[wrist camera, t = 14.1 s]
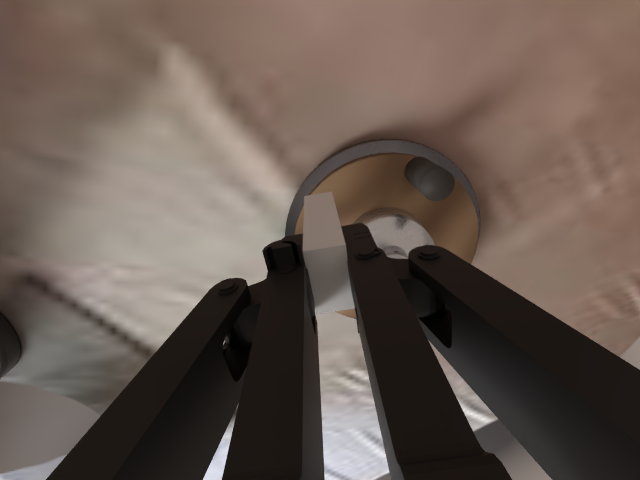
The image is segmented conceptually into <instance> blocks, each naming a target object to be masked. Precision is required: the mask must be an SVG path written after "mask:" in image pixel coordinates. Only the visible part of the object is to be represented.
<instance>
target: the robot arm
mask: <svg viewBox="0 0 640 480" xmlns="http://www.w3.org/2000/svg"><path fill="white" fill-rule="evenodd" d="M263 255H264V258H265V262H266V266H267V269H268V274H267V278H266V279H265V280H263V281H261V282H259V283H256V284H253V285H250V286H248V285H247V282H246V280H244V279H242V278H232V279H231V278H229V279H226V280H223V281H221V282H220V283H218V284H216V285H215V286H213V287H212V288H211V289H210V290H209V291H208V293H207V294H206V295H205V296H204V297H203V298H202V299H201V301H200V302H199V303H198V304H197V305H196V306H195V308H194V309H193V310H192V311H191V312H190V313H189V315H188V316H187V317H186V318H185V319H184V320H183V321H182V323H181V324H180V325H179V326H178V327H177V328H176V330H175V331H174V332H173V333H172V334H171V335H170V337H169V338H168V339H167V340H166V341H165V342H164V343H163V345H162V346H161V347H160V348H159V349H158V350H157V352H156V353H155V354H154V355H153V356H152V357H151V359H150V360H149V361H148V362H147V363H146V364H145V366H144V367H143V368H142V369H141V370H140V371H139V372H138V374H137V375H136V376H135V377H134V378H133V379H132V381H131V382H130V383H129V384H128V385H127V386H126V388H125V389H124V390H123V391H122V392H121V393H120V394H119V396H118V397H117V398H116V399H115V400H114V401H113V403H112V404H111V405H110V406H109V407H108V408H107V410H106V411H105V412H104V413H103V414H102V415H101V416H100V418H99V419H98V420H97V421H96V422H95V424H94V425H93V426H92V427H91V428H90V429H89V430H88V432H87V433H86V434H85V435H84V436H83V437H82V438H81V440H80V441H79V442H78V443H77V444H76V446H75V447H74V448H73V449H72V450H71V451H70V452H69V454H68V455H67V456H66V457H65V458H64V459H63V461H62V462H61V463H60V464H59V465H58V466H57V467H56V469H55V470H54V471H53V472H52V473H51V474H50V476H49V477H48V478H47V479H46V480H203V478H204V476H205V473H206V471H207V469H208V467H209V465H210V463H211V461H212V459H213V456H214V454H215V452H216V450H217V448H218V446H219V444H220V441H221V439H222V437H223V435H224V433H225V431H226V429H227V427H228V424H229V422H230V420H231V418H232V416H233V414H234V412H235V410H236V407H237V405H238V403H239V405H238V410H237V414H236V419H235V423H234V428H233V432H232V437H231V441H230V446H229V450H228V455H227V459H226V464H225V469H224V473H223V477H222V480H324V459H323V438H322V416H321V395H320V374H319V353H318V332H317V320H316V316H315V312H316V314H323V313H329V312H335V311H342V310H348V309H354V308H355V313H356V320H357V327H358V333H360V338H361V342H362V347H363V351H364V356H365V361H366V365H367V370H368V374H369V379H370V384H371V388H372V393H373V397H374V402H375V407H376V411H377V416H378V421H379V425H380V430H381V434H382V439H383V444H384V448H385V453H386V457H387V462H388V467H389V471H390V476H391V480H512V479H511V477H510V475H509V474H508V472H507V471H506V469H505V467H504V466H503V464H502V462H501V461H500V460H499V459H498V458H497V457H496V456H495V455H494V454H492V453H488V452H485V451H484V450H483V449H482V448H481V446H480V444H479V442H478V441H477V439H476V437H475V435H474V433H473V431H472V429H471V427H470V425H469V423H468V420H467V418H466V416H465V414H464V412H463V410H462V408H461V406H460V404H459V402H458V400H457V398H456V396H455V394H454V392H453V390H452V388H451V386H450V384H449V382H448V380H447V378H446V376H445V374H444V372H443V370H442V368H441V366H440V364H439V362H438V359H437V357H436V355H435V353H434V351H433V349H432V347H431V345H430V343H429V341H430V342H431V343H432V344H433V345H434V347H435V348H436V349H437V350H438V351H439V352H440V353H441V354H442V356H443V357H444V358H445V359H446V360H447V361H448V362H449V364H450V365H451V366H452V367H453V368H454V369H455V370H456V371H457V373H458V374H459V375H460V376H461V377H462V378H463V379H464V380H465V382H466V383H467V384H468V385H469V386H470V387H471V388H472V390H473V391H474V392H475V393H476V394H477V395H478V396H479V397H480V399H481V400H482V401H483V402H484V403H485V404H486V405H487V406H488V408H489V409H490V410H491V411H492V412H493V413H494V414H495V416H496V417H497V418H498V419H499V420H500V421H501V422H502V423H503V425H504V426H505V427H506V428H507V429H508V430H509V431H510V432H511V434H512V435H513V436H514V437H515V438H516V439H517V440H518V441H519V443H520V444H521V445H522V446H523V447H524V448H525V449H526V450H527V452H528V453H529V454H530V455H531V456H532V457H533V458H534V460H535V461H536V462H537V463H538V464H539V465H540V466H541V467H542V469H543V470H544V471H545V472H546V473H547V474H548V475H549V477H551V479H552V480H640V370H639V369H637V368H636V367H634V366H632V365H631V364H629V363H628V362H626V361H625V360H623V359H621V358H620V357H618V356H617V355H615V354H613V353H612V352H610V351H609V350H607V349H605V348H604V347H602V346H601V345H599V344H597V343H596V342H594V341H593V340H591V339H589V338H588V337H586V336H585V335H583V334H581V333H580V332H578V331H577V330H575V329H573V328H572V327H570V326H569V325H567V324H565V323H564V322H562V321H561V320H559V319H557V318H556V317H554V316H553V315H551V314H549V313H548V312H546V311H545V310H543V309H541V308H540V307H538V306H537V305H535V304H533V303H532V302H530V301H529V300H527V299H525V298H524V297H522V296H521V295H519V294H517V293H516V292H514V291H513V290H511V289H509V288H508V287H506V286H505V285H503V284H501V283H500V282H498V281H497V280H495V279H493V278H492V277H490V276H489V275H487V274H485V273H484V272H482V271H481V270H479V269H477V268H476V267H474V266H473V265H471V264H469V263H468V262H466V261H465V260H463V259H461V258H460V257H458V256H457V255H455V254H453V253H452V252H450V251H449V250H447V249H445V248H443V247H440V246H434V245H423V246H419V247H416V248H414V249H412V250H411V251H410V252H409V254H408V259H397V258H390V257H387V256H386V254H385V252H384V251H383V250H382V249H381V248H378V247H377V245H376V243H375V241H374V239H373V237H372V234H371V232H370V230H369V228H368V226H366V225H364V224H363V223H357V224H351V225H345V226H341V225H340V221H339V217H338V213H337V209H336V205H335V202H334V198H333V194H332V191H331V192H325V193H320V194H314V195H308V196H304V221H303V234H297V235H291V236H285V237H284V238H283V239H282V240H279V241H275V242H273V243H271V244H269V245H267V246H266V247H265V248H264V249H263ZM224 340H225V343H224V345H223V342H224ZM428 340H429V341H428ZM19 357H20V343H19V340H18V337H17V335H16V333H15V331H14V330H13V328H12V327H11V325H10V324H9V323H8V321H7V320H6V319H5V318H4V317H3V316H2V315H1V314H0V379H1V378H2V377H3V376H4V375H5V374H6V373H7V372H9V371H10V370H11V369H12V368H13V367H14V366H15V365H16V363H17V362H18V360H19Z"/></svg>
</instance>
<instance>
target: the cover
mask: <svg viewBox="0 0 640 480" xmlns="http://www.w3.org/2000/svg"><path fill="white" fill-rule="evenodd" d="M357 223H363V224H364V225H366V226H368V228H369V230H370V232H371V234H372V237H373V239H374V241H375V243H376V245H377V247H378V248H381V249H382V250H383V251H384V252H385V254H386V256H387V257H390V258H397V259H408V254H409V252H410V251H411V250H412V249H414V248H416V247H419V246H423V245H434V242H433V240H432V238H431V236H430V235H429V233H428V232H427V231H426V230H425V228H424V227H423V226H422V225H421V223H420V222H419V221H418V220H417V219H416V218H415V217H414V216H413V215H412V214H410V213H409V212H407V211H405V210H402V209H399V208H394V207H382V208H377V209H374V210H371V211H369V212H366V213H365V214H363V215H361V216H360V217H359V218H357V219H356V220H355V221H354V222H353V224H357ZM434 246H435V245H434Z"/></svg>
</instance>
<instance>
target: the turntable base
mask: <svg viewBox="0 0 640 480" xmlns="http://www.w3.org/2000/svg"><path fill="white" fill-rule="evenodd" d="M390 152H394V153H405V154H410V155H414V156H418V157H425V158H427V159H429V160H430V161H432V162H434V163H435V164H437V165H439V166H441V167H442V168H444V169H446V170H447V171H449V172H450V173H451V174H452V175H453V176H454V177H455V178H456V179H457V180H458V181H459V182H460V184H461V185H462V186H463V187H464V188H465V190H466V191H467V193H468V194H469V196H470V198H471V200H472V203H473V205H474V207H475V211H476V215H477V220H478V238H479V230H480V212H479V206H478V201H477V198H476V195H475V192H474V190H473V188H472V186H471V184H470V182H469V180H468V179H467V178H466V176H465V175H464V174H463V172H462V171H461V170H460V169H459V168H458V167H457V166H456V165H455V164H454V163H453V162H452V161H451V160H449V159H448V158H446V157H445V156H444V155H442V154H441V153H439V152H437V151H435V150H433V149H431V148H429V147H426V146H424V145H421V144H418V143H415V142H411V141H405V140H399V139H381V140H371V141H367V142H363V143H359V144H355V145H353V146H350V147H348V148H345V149H343V150H341V151H339V152H337V153H336V154H334V155H332V156H330V157H329V158H328V159H326V160H325V161H324V162H322V163H321V164H320V165H319V166H318V167H317V168H315V169H314V170H313V171H312V172H311V173H310V174H309V176H308V177H307V178H306V179H305V181H304V182H303V183H302V185H301V186H300V188H299V190H298V191H297V193H296V195H295V197H294V199H293V202H292V204H291V207H290V210H289V214H288V218H287V223H286V231H285V236H291V235H295V229H296V224H297V219H298V216H299V214H300V211H301V208H302V206H303V204H304V196H308V195H309V194H310V193H311V192H312V190H313V189H314V188H315V187H316V186H317V184H318V183H319V182H320V181H321V180H322V179H323V178H325V177H326V176H327V175H328V174H329V173H331V172H332V171H333V170H335V169H337V168H338V167H340V166H341V165H343V164H345V163H347V162H350V161H352V160H354V159H357V158H360V157H363V156H366V155H371V154H377V153H390Z"/></svg>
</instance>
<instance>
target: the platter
mask: <svg viewBox="0 0 640 480" xmlns="http://www.w3.org/2000/svg"><path fill="white" fill-rule="evenodd" d="M331 191H332V194H333V198H334V202H335V205H336V209H337V213H338V217H339V221H340V225H341V226H345V225H351V224H353V222H354V221H355V220H356V219H357V218H359V217H360V216H361V215H363V214H365V213H366V212H369V211H371V210H374V209H377V208H382V207H394V208H399V209H402V210H405V211H407V212H409V213H410V214H412V215H413V216H414V217H415V218H416V219H417V220H418V221H419V222H420V223H421V225H422V226H423V227H424V228H425V230H426V231H427V232H428V233H429V235H430V236H431V238H432V240H433V242H434V245H435V246H440V247H443V248H445V249H447V250H449V251H450V252H452V253H453V254H455V255H457V256H458V257H460V258H461V259H463V260H465V261H466V262H468V263H469V264H471V262H472V260H473V257H474V254H475V251H476V247H477V242H478V220H477V215H476V211H475V207H474V205H473V203H472V200H471V198H470V196H469V194H468V193H467V191H466V190H465V188H464V187H463V186H462V185H461V184H460V182H459V181H458V180H457V179H456V178H455V177H454V176H453V175H452V174H451V173H450V172H449V171H447V170H446V169H444V168H442V167H441V166H439V165H437V164H435V163H434V162H432V161H430V160H429V159H427V158H425V157H418V156H414V155H410V154H405V153H394V152H390V153H377V154H371V155H366V156H363V157H360V158H357V159H354V160H352V161H350V162H347V163H345V164H343V165H341V166H340V167H338V168H337V169H335V170H333V171H332V172H331V173H329V174H328V175H327V176H326V177H325V178H323V179H322V180H321V181H320V182H319V183H318V184H317V186H316V187H315V188H314V189H313V190H312V192H311V193H310V194H309V195H314V194H320V193H325V192H331ZM303 221H304V204H303V206H302V208H301V211H300V214H299V216H298V219H297V224H296V229H295V235H297V234H303ZM335 312H337V313H340V314H342V315H344V316H347V317H351V318H354V319H356V313H355V308H354V309H348V310H342V311H335Z"/></svg>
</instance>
